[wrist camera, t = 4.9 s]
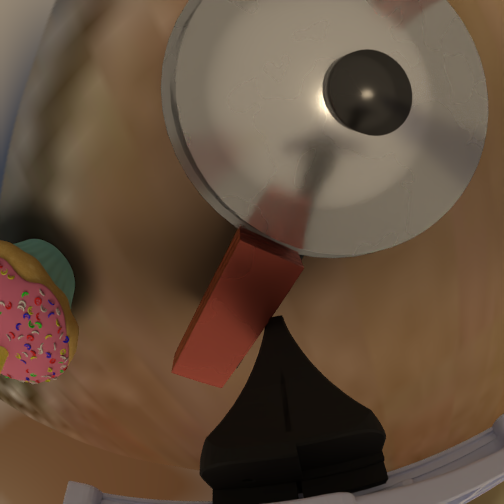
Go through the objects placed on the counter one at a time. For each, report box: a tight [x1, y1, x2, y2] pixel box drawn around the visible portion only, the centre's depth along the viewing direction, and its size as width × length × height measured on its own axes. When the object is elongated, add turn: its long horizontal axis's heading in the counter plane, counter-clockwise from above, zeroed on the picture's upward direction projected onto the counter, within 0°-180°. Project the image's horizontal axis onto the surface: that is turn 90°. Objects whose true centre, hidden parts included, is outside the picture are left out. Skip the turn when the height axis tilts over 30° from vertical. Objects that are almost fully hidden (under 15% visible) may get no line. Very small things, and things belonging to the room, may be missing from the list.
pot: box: [161, 0, 373, 368], centre depth 12 cm, size 13×23×4 cm, turn 156°
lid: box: [171, 0, 488, 388], centre depth 9 cm, size 23×11×2 cm, turn 153°
